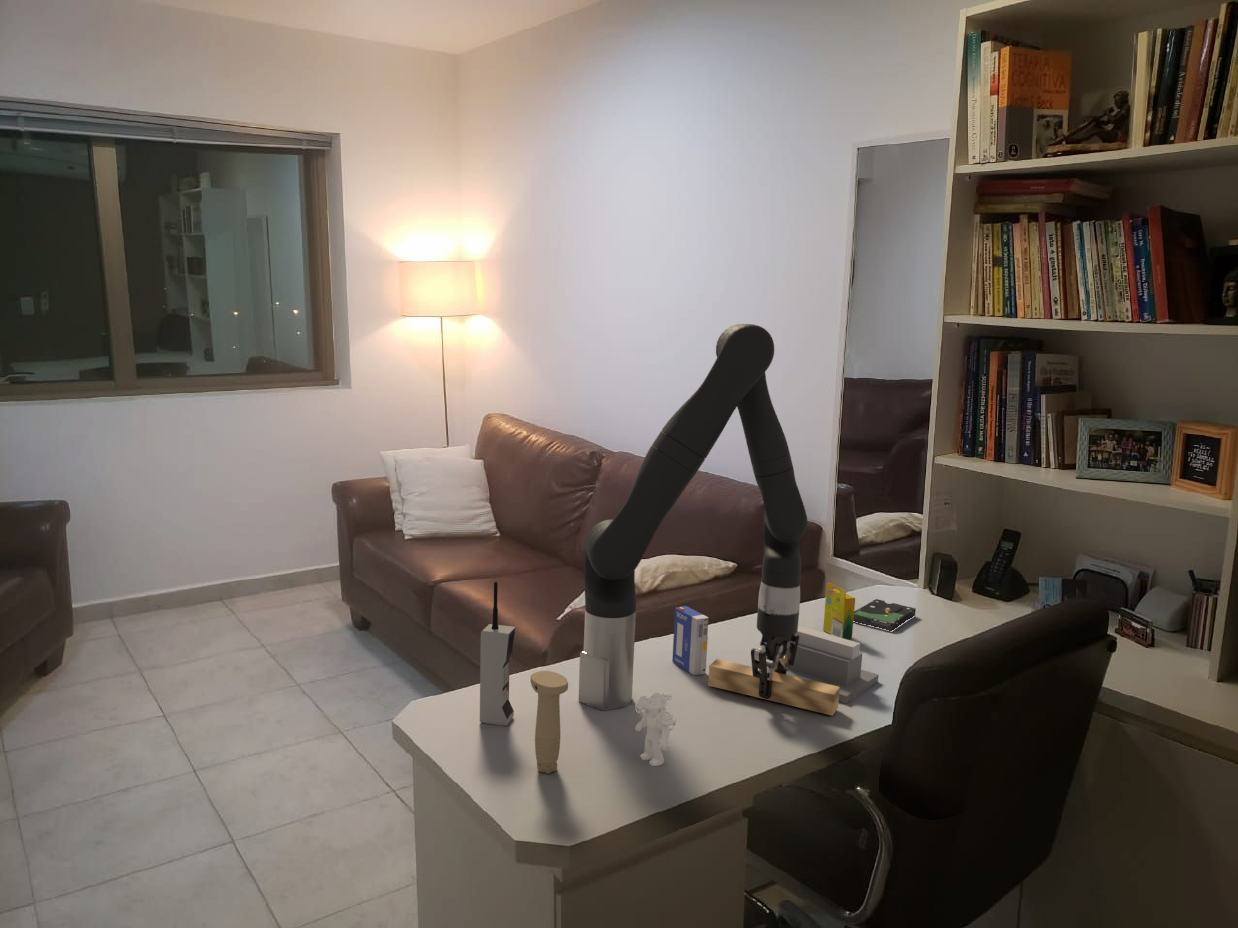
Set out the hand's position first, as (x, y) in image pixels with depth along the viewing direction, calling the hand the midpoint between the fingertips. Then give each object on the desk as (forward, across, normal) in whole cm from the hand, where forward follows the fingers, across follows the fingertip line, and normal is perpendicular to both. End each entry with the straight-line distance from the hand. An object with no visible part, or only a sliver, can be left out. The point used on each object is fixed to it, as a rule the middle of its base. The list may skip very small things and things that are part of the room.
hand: (771, 692), depth 173 cm
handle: (+2, +48, -12) cm, 49 cm away
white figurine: (+2, +34, -2) cm, 34 cm away
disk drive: (+2, -58, -4) cm, 58 cm away
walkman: (+2, -1, -20) cm, 20 cm away
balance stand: (+1, -15, +2) cm, 15 cm away
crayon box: (+1, -40, -7) cm, 41 cm away
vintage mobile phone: (+2, +42, -30) cm, 51 cm away
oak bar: (+1, 0, 0) cm, 1 cm away
